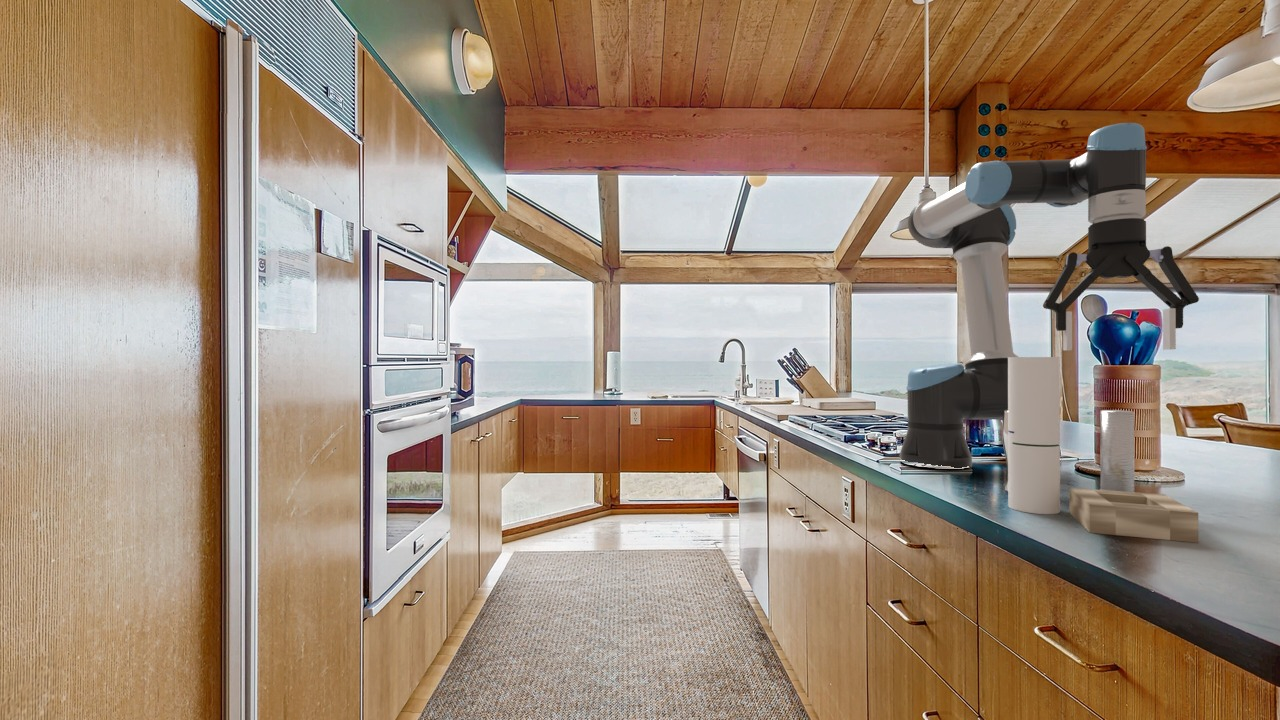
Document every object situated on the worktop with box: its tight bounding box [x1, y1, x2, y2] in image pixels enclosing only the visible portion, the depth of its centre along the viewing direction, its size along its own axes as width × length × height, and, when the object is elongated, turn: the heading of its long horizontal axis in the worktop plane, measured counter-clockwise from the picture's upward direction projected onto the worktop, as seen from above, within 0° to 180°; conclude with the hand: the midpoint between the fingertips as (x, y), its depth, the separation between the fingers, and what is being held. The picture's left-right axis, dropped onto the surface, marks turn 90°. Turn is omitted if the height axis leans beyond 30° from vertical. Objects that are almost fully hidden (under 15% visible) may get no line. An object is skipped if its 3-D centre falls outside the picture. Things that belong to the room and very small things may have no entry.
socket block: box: [1068, 487, 1199, 543], centre depth 89 cm, size 12×12×4 cm
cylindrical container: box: [1007, 356, 1061, 515], centre depth 100 cm, size 7×7×25 cm
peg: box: [1099, 409, 1135, 492], centre depth 100 cm, size 4×4×16 cm
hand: (1117, 350), depth 100 cm, fingers open, 13 cm apart
